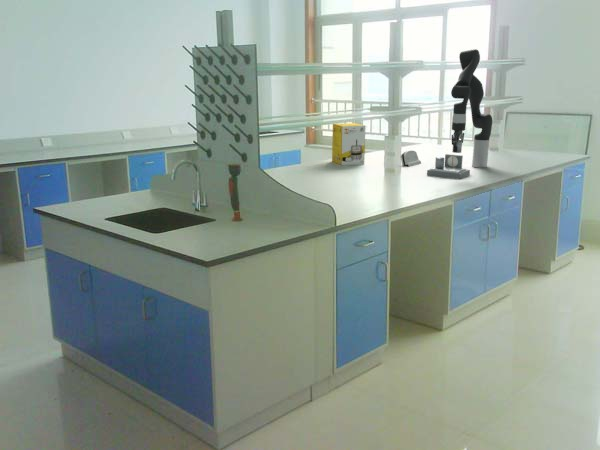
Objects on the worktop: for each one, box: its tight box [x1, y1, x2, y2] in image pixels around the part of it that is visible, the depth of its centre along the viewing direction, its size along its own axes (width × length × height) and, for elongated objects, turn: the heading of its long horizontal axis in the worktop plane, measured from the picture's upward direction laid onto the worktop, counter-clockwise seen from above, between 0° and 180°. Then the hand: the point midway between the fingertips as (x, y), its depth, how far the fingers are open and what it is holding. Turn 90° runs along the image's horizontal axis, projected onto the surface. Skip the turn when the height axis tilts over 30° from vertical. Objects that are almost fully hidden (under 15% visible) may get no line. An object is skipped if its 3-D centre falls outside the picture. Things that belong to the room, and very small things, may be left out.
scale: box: [426, 153, 471, 180], centre depth 353 cm, size 16×20×11 cm
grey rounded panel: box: [400, 150, 422, 168], centre depth 391 cm, size 17×5×10 cm, turn 141°
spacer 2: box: [452, 141, 463, 154], centre depth 346 cm, size 5×5×6 cm
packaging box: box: [331, 122, 366, 166], centre depth 394 cm, size 16×16×25 cm
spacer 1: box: [434, 156, 445, 169], centre depth 354 cm, size 5×5×6 cm
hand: (456, 151), depth 347 cm, fingers closed on spacer 2, 5 cm apart
